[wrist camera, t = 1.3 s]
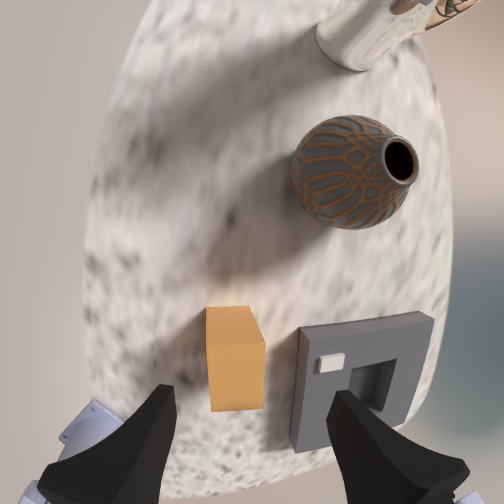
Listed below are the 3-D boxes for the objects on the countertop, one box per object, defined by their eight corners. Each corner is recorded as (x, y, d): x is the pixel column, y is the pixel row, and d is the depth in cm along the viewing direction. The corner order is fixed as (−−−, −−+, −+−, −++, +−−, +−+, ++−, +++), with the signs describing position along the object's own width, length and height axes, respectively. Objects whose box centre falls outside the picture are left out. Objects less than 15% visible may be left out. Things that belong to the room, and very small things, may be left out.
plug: (248, 360, 20) (263, 408, 14) (209, 362, 20) (211, 411, 14) (248, 305, 20) (265, 342, 14) (206, 307, 19) (206, 345, 13)
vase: (261, 193, 19) (304, 179, 10) (308, 115, 18) (368, 63, 10) (341, 243, 20) (419, 264, 12) (379, 168, 20) (460, 152, 11)
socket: (392, 411, 24) (405, 424, 21) (288, 436, 22) (296, 456, 19) (418, 310, 22) (437, 320, 20) (299, 327, 20) (311, 342, 18)
